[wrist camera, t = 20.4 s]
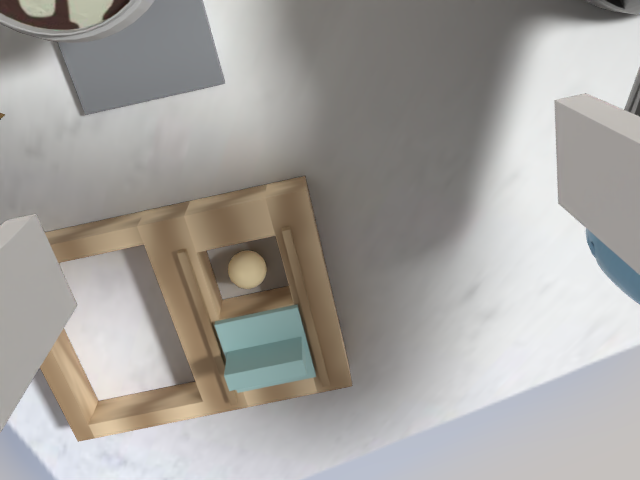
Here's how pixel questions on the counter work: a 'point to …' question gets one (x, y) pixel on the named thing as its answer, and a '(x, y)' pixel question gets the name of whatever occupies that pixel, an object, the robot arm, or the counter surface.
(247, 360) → the cover
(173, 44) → the mat
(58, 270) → the robot arm
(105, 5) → the food container
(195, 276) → the wooden compartment tray
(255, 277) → the ball
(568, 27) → the counter surface
